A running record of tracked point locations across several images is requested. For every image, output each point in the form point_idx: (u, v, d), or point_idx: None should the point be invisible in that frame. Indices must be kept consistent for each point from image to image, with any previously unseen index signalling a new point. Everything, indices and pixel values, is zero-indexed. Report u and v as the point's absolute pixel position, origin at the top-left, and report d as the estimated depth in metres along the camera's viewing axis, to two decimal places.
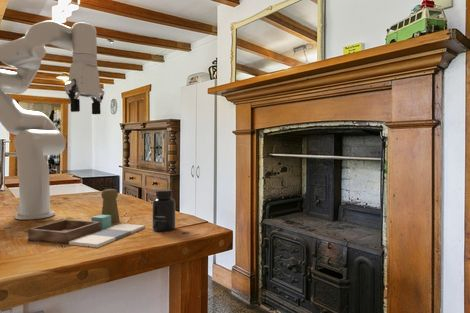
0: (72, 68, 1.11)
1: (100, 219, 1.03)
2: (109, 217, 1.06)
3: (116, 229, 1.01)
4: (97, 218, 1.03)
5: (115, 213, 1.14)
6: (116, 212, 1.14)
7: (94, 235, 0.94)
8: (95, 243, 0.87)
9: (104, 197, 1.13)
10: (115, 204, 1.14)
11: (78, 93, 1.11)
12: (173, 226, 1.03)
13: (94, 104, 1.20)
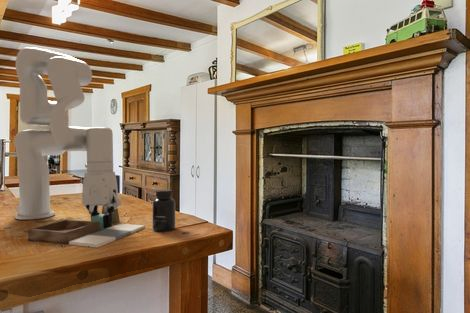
0: (111, 178, 1.03)
1: (100, 218, 1.03)
2: None
3: (116, 229, 1.01)
4: (97, 217, 1.03)
5: (115, 213, 1.14)
6: (116, 212, 1.14)
7: (94, 235, 0.94)
8: (95, 243, 0.87)
9: None
10: None
11: None
12: (173, 226, 1.03)
13: None
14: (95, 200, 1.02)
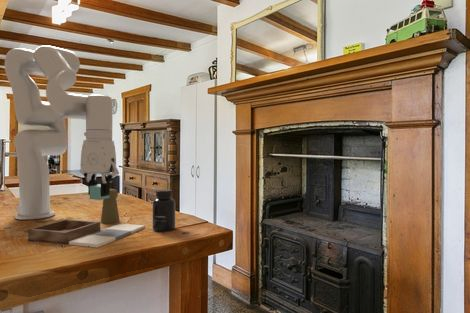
0: (110, 146, 1.02)
1: (98, 188, 1.03)
2: None
3: (116, 229, 1.01)
4: (95, 187, 1.04)
5: (115, 213, 1.14)
6: (116, 212, 1.14)
7: (94, 235, 0.94)
8: (95, 243, 0.87)
9: None
10: (115, 204, 1.14)
11: None
12: (173, 226, 1.03)
13: (93, 184, 1.06)
14: (93, 168, 1.02)
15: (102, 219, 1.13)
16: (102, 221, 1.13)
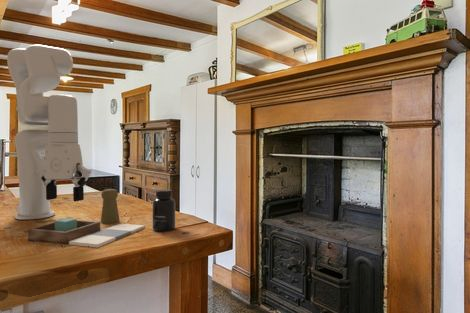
0: (74, 150, 0.94)
1: (63, 223, 0.95)
2: (74, 221, 0.98)
3: (116, 229, 1.01)
4: (60, 222, 0.96)
5: (115, 213, 1.14)
6: (116, 212, 1.14)
7: (94, 235, 0.94)
8: (95, 243, 0.87)
9: (104, 197, 1.13)
10: (115, 204, 1.14)
11: None
12: (173, 226, 1.03)
13: (51, 187, 0.98)
14: (57, 174, 0.94)
15: (102, 219, 1.13)
16: (102, 221, 1.13)
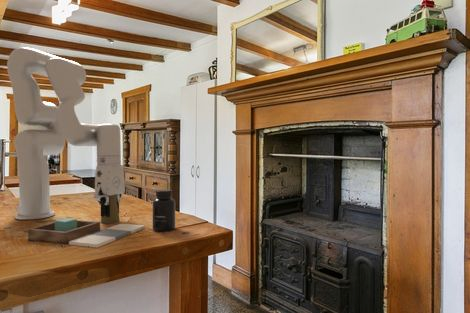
0: None
1: (63, 223, 0.95)
2: (74, 221, 0.98)
3: (116, 229, 1.01)
4: (60, 222, 0.96)
5: (115, 213, 1.14)
6: (116, 212, 1.14)
7: (94, 235, 0.94)
8: (95, 243, 0.87)
9: (104, 197, 1.13)
10: (115, 204, 1.14)
11: None
12: (173, 226, 1.03)
13: None
14: (117, 190, 1.14)
15: (102, 219, 1.13)
16: (102, 221, 1.13)
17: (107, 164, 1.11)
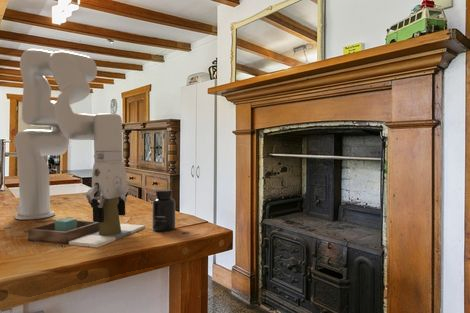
0: None
1: (63, 223, 0.95)
2: (74, 221, 0.98)
3: None
4: (60, 222, 0.96)
5: (116, 223, 0.96)
6: (117, 221, 0.96)
7: (94, 235, 0.94)
8: (95, 243, 0.87)
9: (103, 204, 0.95)
10: (116, 212, 0.96)
11: None
12: (173, 226, 1.03)
13: None
14: (118, 192, 0.96)
15: (100, 230, 0.95)
16: (100, 232, 0.95)
17: (106, 161, 0.93)
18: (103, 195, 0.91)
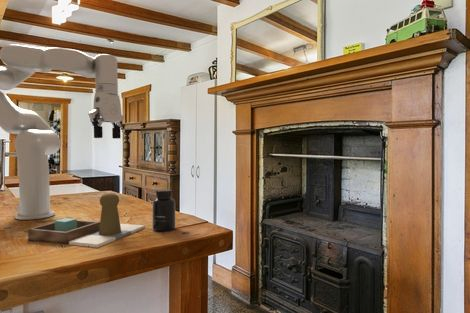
0: None
1: (63, 223, 0.95)
2: (74, 221, 0.98)
3: None
4: (60, 222, 0.96)
5: (116, 223, 0.96)
6: (117, 221, 0.96)
7: (94, 235, 0.94)
8: (95, 243, 0.87)
9: (103, 204, 0.95)
10: (116, 212, 0.96)
11: None
12: (173, 226, 1.03)
13: None
14: (114, 117, 1.22)
15: (100, 230, 0.95)
16: (100, 232, 0.95)
17: (105, 91, 1.19)
18: (102, 117, 1.17)
